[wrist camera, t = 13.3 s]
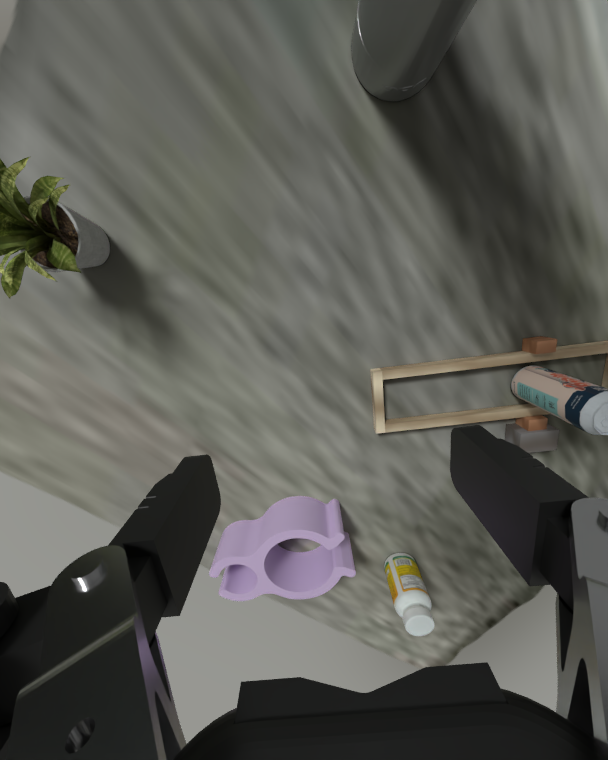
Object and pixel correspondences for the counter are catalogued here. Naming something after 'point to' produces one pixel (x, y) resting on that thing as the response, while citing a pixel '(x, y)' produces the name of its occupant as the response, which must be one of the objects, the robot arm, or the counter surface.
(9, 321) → the counter surface
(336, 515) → the clip
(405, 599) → the supplement bottle
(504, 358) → the beam track
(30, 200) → the house plant
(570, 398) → the beer can
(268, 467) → the counter surface
